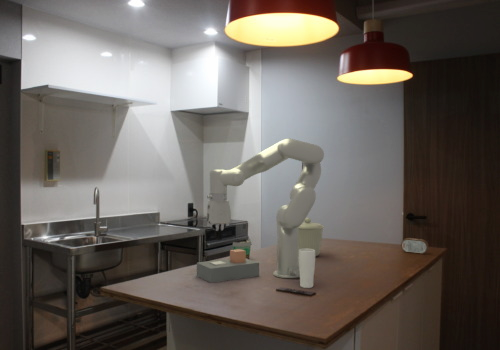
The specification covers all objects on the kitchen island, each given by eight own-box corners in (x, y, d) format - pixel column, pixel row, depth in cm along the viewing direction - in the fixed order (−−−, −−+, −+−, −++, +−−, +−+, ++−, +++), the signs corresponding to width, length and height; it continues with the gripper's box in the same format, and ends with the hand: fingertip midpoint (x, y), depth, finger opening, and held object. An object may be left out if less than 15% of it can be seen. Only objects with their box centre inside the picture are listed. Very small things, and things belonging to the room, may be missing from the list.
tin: (428, 254, 255) (428, 239, 254) (427, 255, 252) (427, 240, 252) (401, 251, 263) (401, 237, 262) (400, 252, 260) (400, 237, 260)
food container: (241, 263, 227) (241, 243, 227) (232, 261, 230) (232, 242, 230) (256, 259, 236) (256, 240, 236) (247, 257, 240) (247, 239, 240)
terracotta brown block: (245, 263, 200) (245, 250, 200) (235, 264, 198) (235, 251, 198) (239, 261, 205) (239, 249, 205) (229, 262, 202) (229, 250, 202)
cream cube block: (225, 275, 195) (226, 263, 195) (215, 277, 193) (215, 264, 192) (220, 273, 200) (220, 261, 200) (210, 274, 197) (210, 262, 197)
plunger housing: (259, 276, 199) (259, 262, 199) (210, 282, 186) (210, 268, 186) (243, 270, 211) (243, 257, 211) (196, 276, 198) (196, 262, 198)
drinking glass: (310, 289, 177) (311, 252, 176) (295, 287, 180) (295, 250, 180) (317, 286, 182) (318, 249, 182) (302, 283, 186) (302, 247, 186)
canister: (330, 256, 245) (331, 218, 245) (305, 260, 235) (306, 220, 235) (308, 251, 260) (308, 215, 260) (284, 254, 250) (284, 217, 250)
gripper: (206, 198, 189) (206, 242, 189) (237, 197, 196) (237, 239, 197) (199, 197, 195) (199, 239, 195) (229, 196, 203) (229, 236, 203)
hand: (218, 239), depth 196 cm, fingers closed
